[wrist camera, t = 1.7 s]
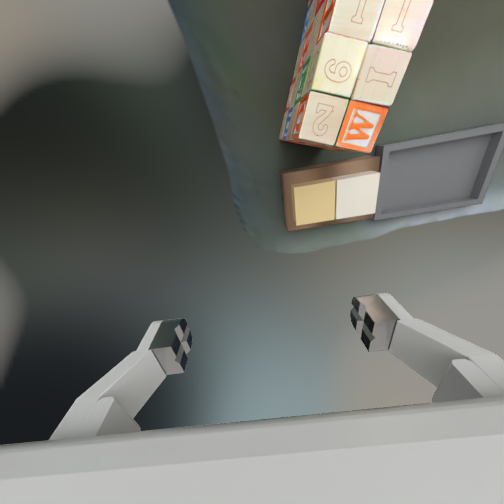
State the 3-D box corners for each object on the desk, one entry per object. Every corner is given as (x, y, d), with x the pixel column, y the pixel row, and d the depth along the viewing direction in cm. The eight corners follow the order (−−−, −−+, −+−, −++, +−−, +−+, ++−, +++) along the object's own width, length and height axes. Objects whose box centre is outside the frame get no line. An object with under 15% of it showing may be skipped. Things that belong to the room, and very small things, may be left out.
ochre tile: (329, 177, 26) (335, 180, 24) (329, 214, 28) (334, 219, 26) (290, 184, 26) (293, 187, 24) (293, 220, 28) (296, 225, 27)
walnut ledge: (367, 155, 27) (380, 156, 24) (362, 211, 31) (372, 217, 28) (279, 171, 28) (282, 173, 25) (285, 223, 32) (288, 231, 29)
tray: (497, 123, 25) (513, 121, 24) (469, 200, 30) (481, 203, 28) (376, 145, 26) (384, 145, 25) (367, 216, 31) (374, 220, 30)
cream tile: (371, 170, 25) (380, 172, 23) (367, 208, 28) (374, 213, 26) (331, 177, 26) (337, 180, 24) (330, 214, 28) (335, 219, 26)
